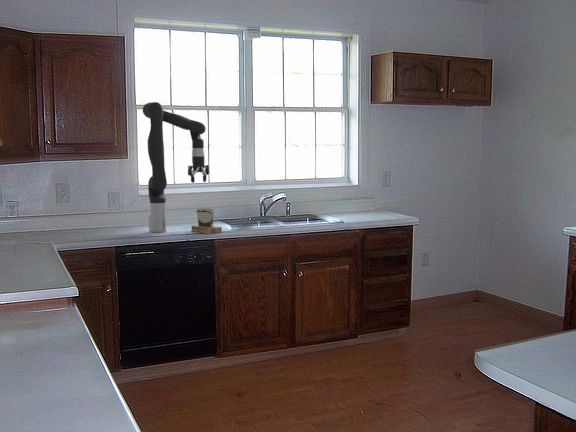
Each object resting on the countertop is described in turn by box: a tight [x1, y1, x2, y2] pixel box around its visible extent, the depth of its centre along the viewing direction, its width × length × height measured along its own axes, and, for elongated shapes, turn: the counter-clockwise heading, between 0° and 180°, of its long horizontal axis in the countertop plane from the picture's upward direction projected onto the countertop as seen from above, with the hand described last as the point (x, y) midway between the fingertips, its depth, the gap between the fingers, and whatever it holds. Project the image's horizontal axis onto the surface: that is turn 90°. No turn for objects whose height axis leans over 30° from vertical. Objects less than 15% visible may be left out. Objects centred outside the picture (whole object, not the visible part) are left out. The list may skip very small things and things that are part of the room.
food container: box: [196, 208, 215, 227], centre depth 374 cm, size 12×6×10 cm, turn 57°
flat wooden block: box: [191, 224, 223, 235], centre depth 374 cm, size 10×16×3 cm, turn 45°
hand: (198, 182), depth 387 cm, fingers open, 8 cm apart
